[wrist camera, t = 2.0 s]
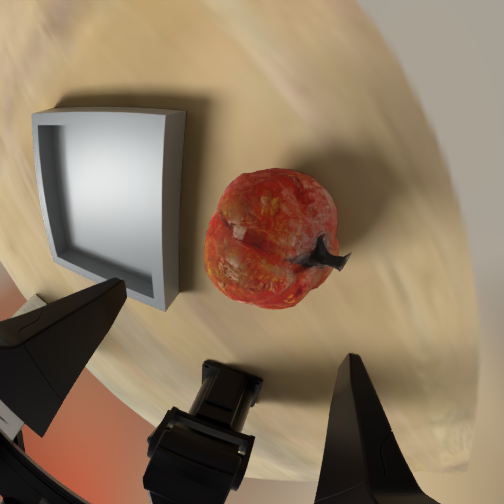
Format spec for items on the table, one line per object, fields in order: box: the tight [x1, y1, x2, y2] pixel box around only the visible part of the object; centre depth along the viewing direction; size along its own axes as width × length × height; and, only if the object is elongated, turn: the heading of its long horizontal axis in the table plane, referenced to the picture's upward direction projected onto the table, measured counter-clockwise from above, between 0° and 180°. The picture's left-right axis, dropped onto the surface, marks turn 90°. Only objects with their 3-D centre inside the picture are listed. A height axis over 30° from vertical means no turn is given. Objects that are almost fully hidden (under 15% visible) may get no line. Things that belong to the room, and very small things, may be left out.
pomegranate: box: [204, 168, 352, 309], centre depth 15 cm, size 7×7×10 cm
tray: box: [32, 107, 187, 312], centre depth 20 cm, size 15×14×2 cm
